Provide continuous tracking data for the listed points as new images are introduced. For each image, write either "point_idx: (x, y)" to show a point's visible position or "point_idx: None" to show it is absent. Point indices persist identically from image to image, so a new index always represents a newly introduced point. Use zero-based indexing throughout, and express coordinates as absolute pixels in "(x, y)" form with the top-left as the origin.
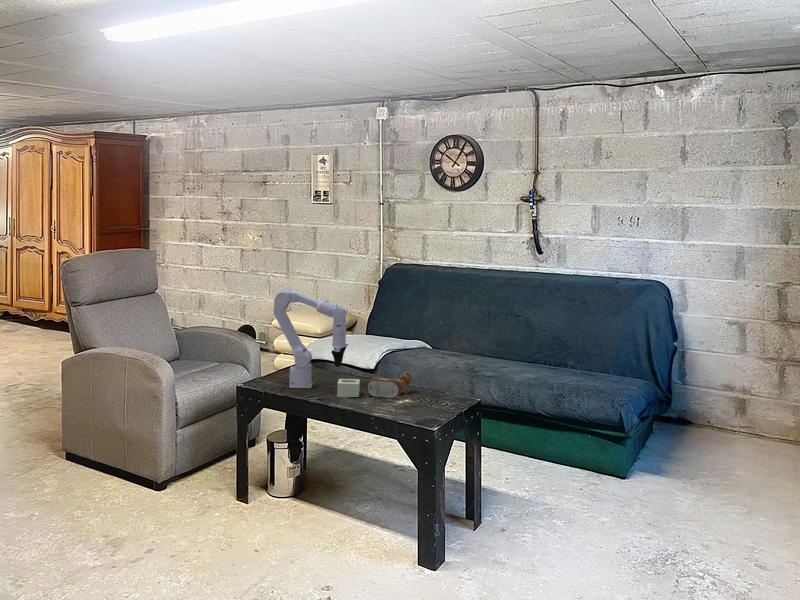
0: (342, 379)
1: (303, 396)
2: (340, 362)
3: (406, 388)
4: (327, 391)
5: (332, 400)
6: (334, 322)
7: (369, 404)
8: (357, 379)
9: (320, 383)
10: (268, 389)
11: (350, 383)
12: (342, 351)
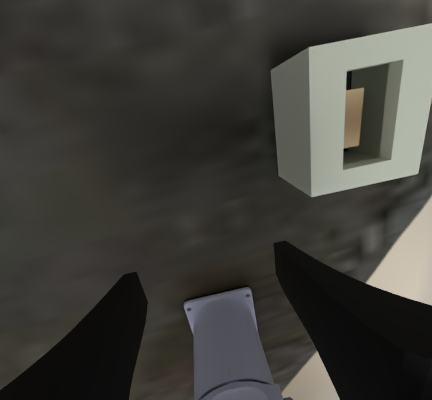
0: (328, 171)
1: (350, 271)
2: (312, 260)
3: None
4: (274, 221)
5: None
6: None
7: None
8: (318, 65)
9: (162, 281)
10: (284, 371)
11: (428, 91)
12: (427, 388)
